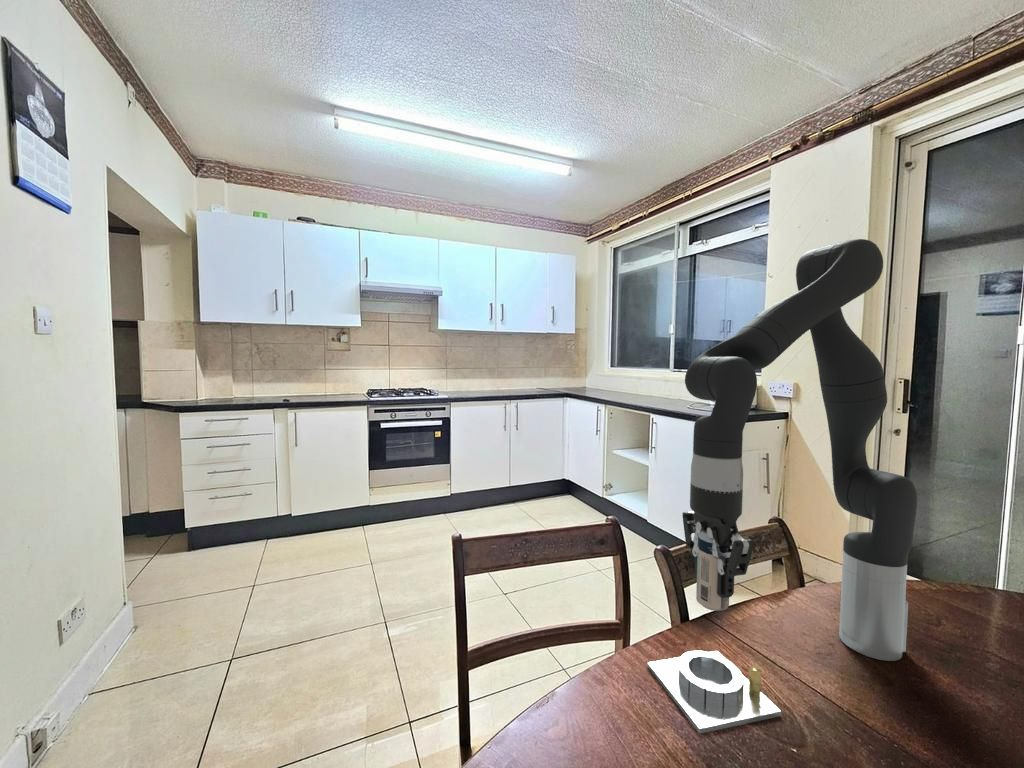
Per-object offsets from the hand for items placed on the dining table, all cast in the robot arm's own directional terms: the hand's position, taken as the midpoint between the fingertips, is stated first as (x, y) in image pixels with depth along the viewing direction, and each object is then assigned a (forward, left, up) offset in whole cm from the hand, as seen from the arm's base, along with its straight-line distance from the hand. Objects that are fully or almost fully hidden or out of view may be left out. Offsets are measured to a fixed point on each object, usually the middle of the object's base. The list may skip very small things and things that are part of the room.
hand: (712, 586), depth 70 cm
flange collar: (0, 0, -17) cm, 17 cm away
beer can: (0, 0, -3) cm, 3 cm away
